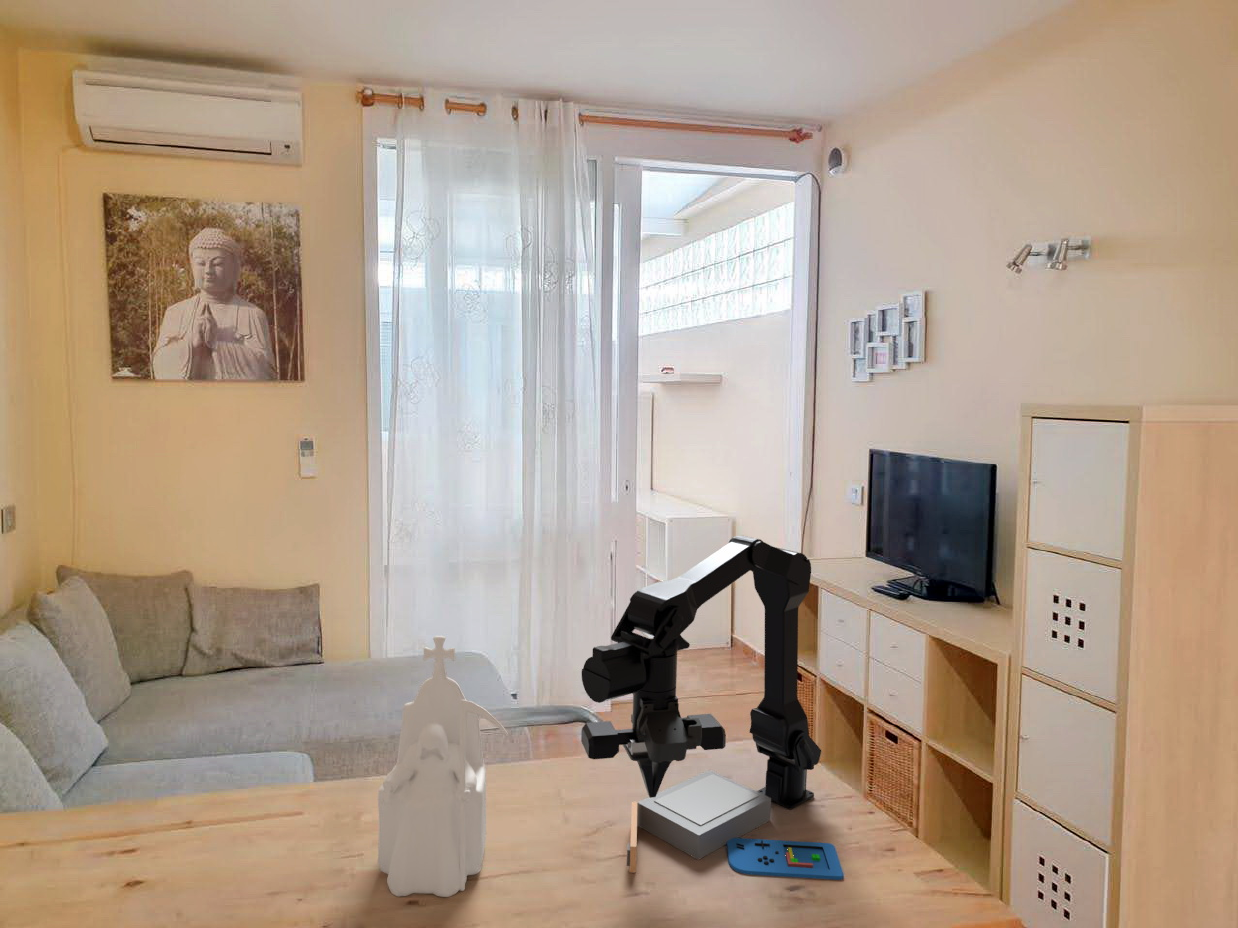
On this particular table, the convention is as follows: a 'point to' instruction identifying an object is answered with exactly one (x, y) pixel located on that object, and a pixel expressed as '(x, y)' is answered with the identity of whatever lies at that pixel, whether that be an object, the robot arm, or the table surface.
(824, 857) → the handheld gaming device
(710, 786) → the case
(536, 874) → the table surface
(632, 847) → the case door
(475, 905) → the table surface
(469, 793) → the religious statue
